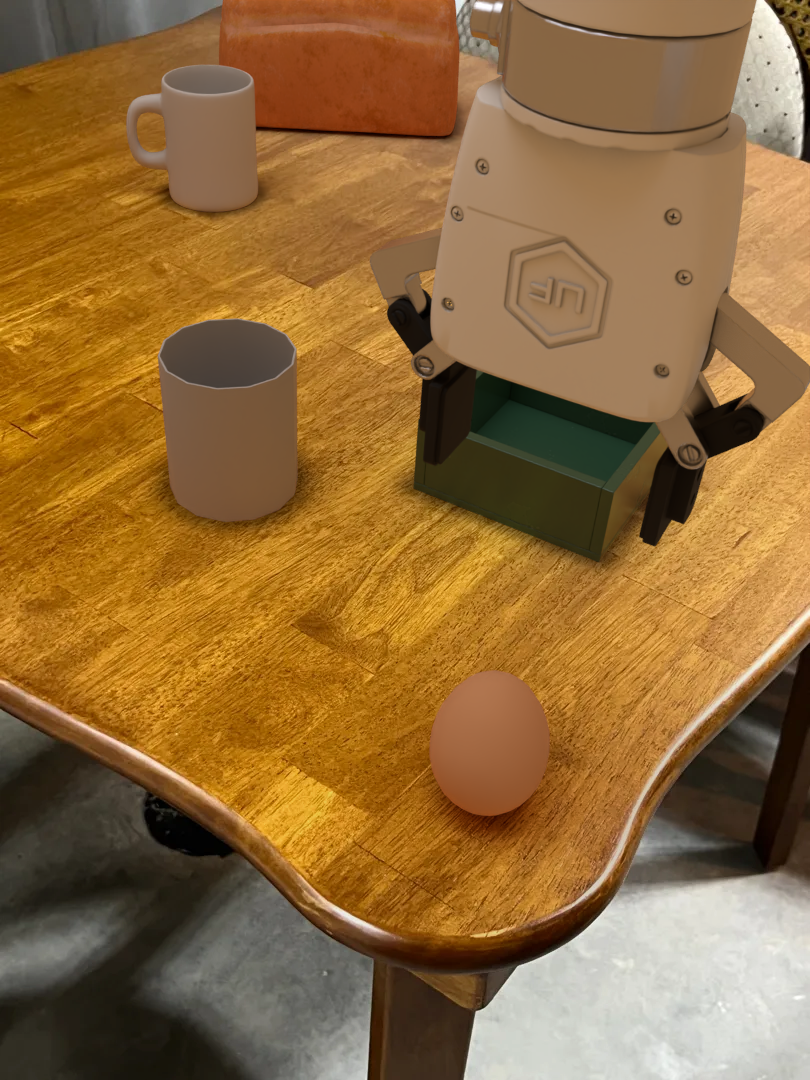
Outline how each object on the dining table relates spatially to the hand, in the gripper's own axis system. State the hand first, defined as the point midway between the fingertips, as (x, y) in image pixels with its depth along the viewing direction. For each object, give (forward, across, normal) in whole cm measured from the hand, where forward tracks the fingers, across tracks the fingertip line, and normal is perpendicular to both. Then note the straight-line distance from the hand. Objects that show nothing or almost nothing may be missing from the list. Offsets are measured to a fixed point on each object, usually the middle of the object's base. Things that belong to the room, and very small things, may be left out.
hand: (549, 486), depth 48 cm
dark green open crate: (+18, -8, +25) cm, 32 cm away
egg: (+18, 0, -2) cm, 19 cm away
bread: (+19, -56, +75) cm, 96 cm away
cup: (+18, -26, +12) cm, 34 cm away
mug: (+18, -56, +48) cm, 76 cm away
